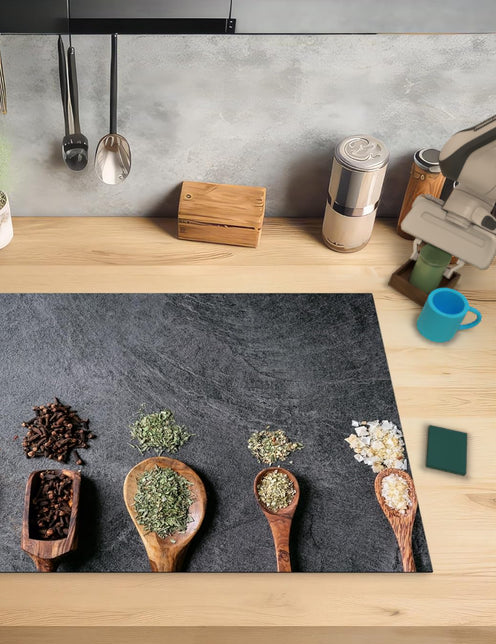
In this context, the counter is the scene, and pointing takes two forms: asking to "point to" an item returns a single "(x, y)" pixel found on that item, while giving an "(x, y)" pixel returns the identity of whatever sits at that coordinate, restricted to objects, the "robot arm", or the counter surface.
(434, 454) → the mat
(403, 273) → the tray
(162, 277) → the counter surface
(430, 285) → the green pot
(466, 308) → the mug
